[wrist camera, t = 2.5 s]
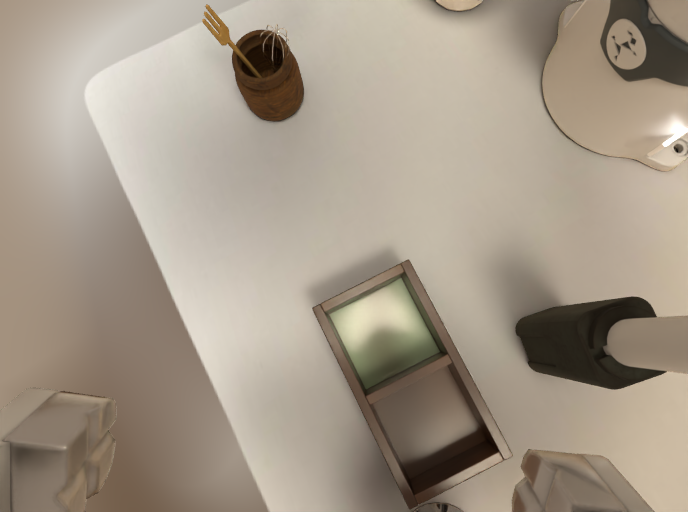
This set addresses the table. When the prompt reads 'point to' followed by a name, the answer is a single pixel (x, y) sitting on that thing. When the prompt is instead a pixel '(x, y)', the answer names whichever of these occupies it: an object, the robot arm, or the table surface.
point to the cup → (458, 4)
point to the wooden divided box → (411, 384)
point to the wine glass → (437, 508)
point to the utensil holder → (263, 70)
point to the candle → (605, 342)
